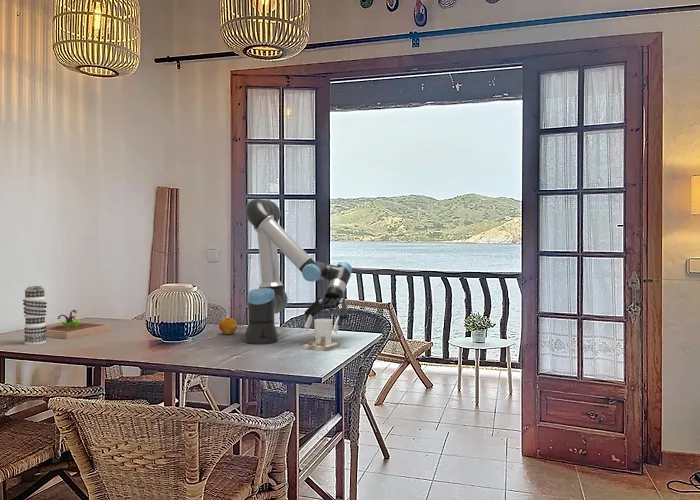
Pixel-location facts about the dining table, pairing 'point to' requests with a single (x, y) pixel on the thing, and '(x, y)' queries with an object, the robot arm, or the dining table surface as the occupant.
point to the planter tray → (66, 335)
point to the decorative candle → (34, 315)
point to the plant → (69, 324)
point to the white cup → (323, 330)
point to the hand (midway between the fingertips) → (320, 329)
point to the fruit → (228, 325)
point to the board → (322, 346)
